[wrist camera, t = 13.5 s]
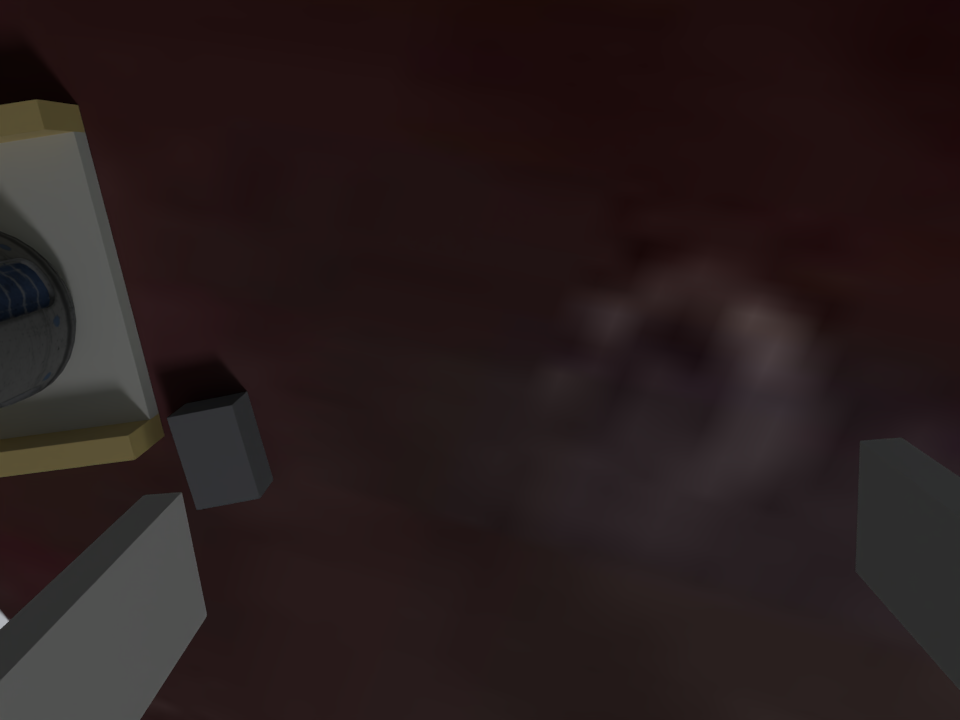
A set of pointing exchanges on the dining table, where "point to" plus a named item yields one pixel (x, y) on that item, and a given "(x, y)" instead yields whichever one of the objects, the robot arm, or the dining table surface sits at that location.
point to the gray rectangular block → (221, 450)
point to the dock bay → (95, 294)
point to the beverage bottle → (31, 322)
